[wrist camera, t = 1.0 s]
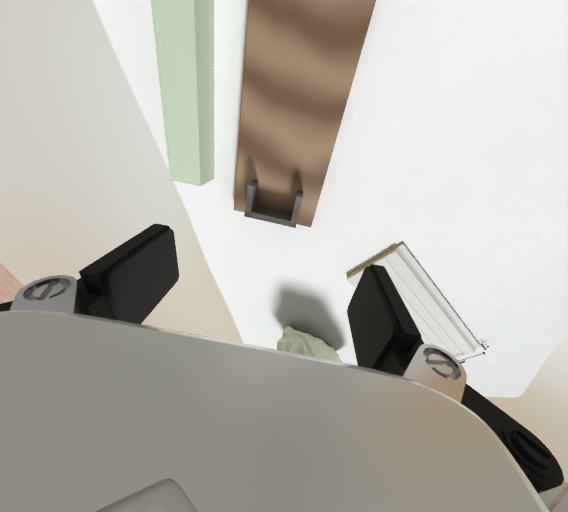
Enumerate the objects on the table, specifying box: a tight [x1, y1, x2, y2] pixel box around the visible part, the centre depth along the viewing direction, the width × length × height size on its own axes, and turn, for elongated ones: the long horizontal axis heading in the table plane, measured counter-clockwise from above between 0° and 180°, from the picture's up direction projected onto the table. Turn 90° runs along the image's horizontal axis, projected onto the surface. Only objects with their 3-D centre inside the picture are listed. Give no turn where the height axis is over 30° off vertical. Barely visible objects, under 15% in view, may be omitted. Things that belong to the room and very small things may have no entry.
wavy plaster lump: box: [277, 326, 343, 363], centre depth 45 cm, size 18×13×16 cm
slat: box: [151, 0, 214, 186], centre depth 23 cm, size 26×4×5 cm, turn 170°
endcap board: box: [234, 0, 376, 228], centre depth 24 cm, size 31×12×4 cm, turn 169°
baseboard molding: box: [347, 243, 489, 363], centre depth 40 cm, size 31×3×12 cm
